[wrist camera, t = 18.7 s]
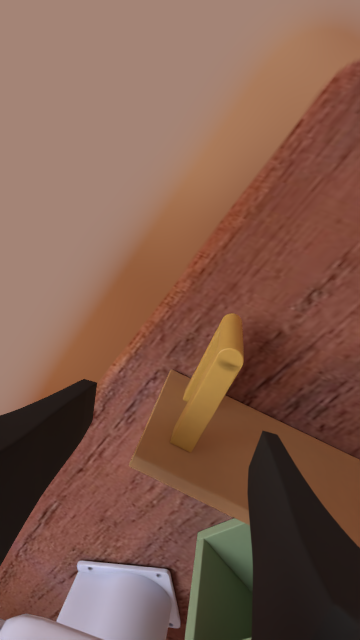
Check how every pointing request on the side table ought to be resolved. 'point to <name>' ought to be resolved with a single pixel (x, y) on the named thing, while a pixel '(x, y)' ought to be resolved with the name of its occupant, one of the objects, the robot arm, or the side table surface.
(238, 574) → the cupboard
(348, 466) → the cupboard door
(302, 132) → the side table surface
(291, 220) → the side table surface
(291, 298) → the side table surface
